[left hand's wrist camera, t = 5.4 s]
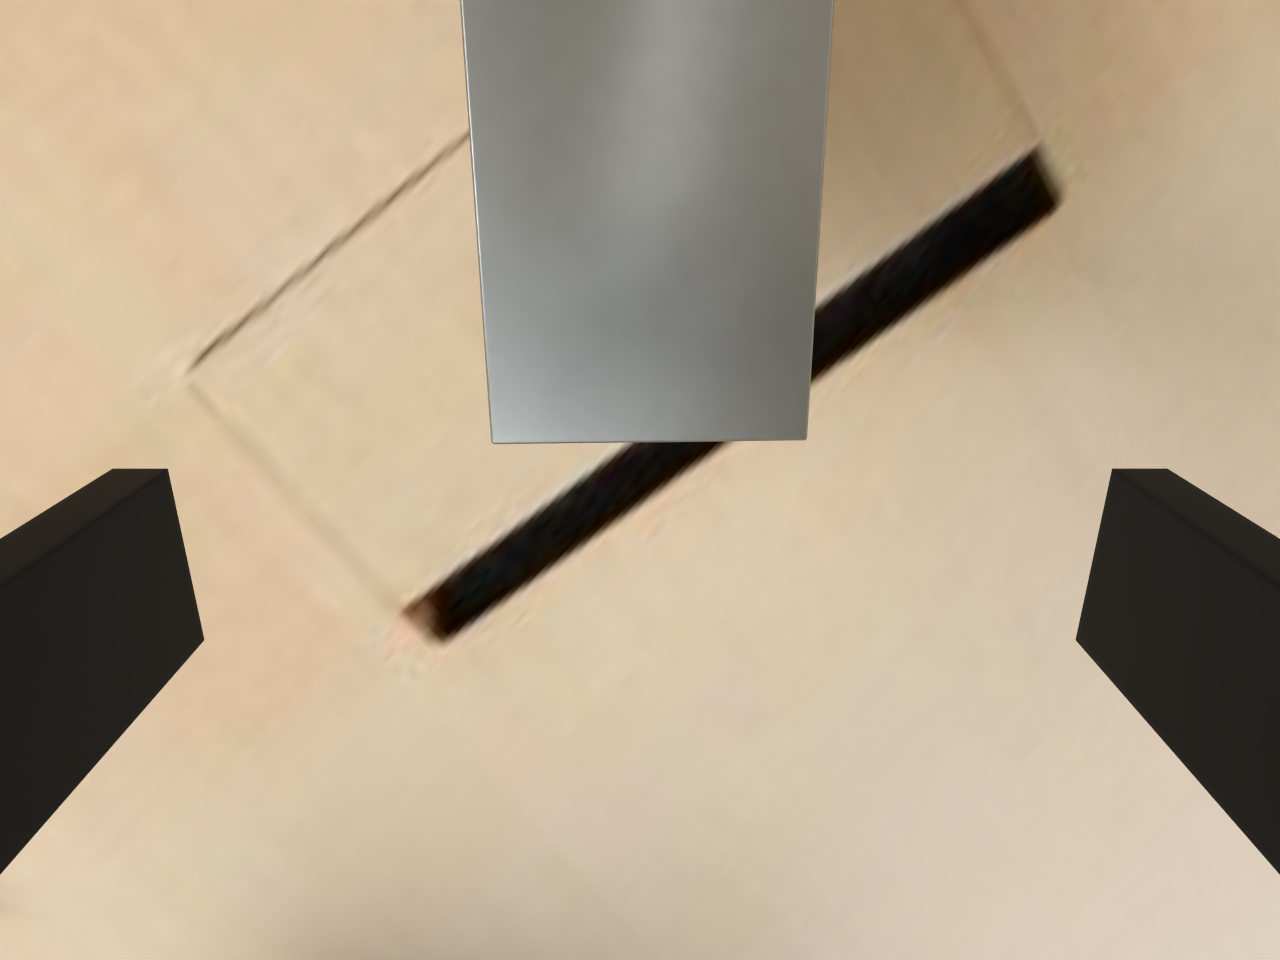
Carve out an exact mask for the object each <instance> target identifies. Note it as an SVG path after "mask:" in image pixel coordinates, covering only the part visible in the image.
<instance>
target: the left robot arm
mask: <svg viewBox="0 0 1280 960" xmlns="http://www.w3.org/2000/svg"><path fill="white" fill-rule="evenodd" d="M203 641H204V636H203V632H202V627H201V622H200V618H199V613H198V608H197V603H196V599H195V594H194V589H193V585H192V580H191V575H190V571H189V566H188V561H187V557H186V552H185V547H184V543H183V538H182V533H181V529H180V524H179V519H178V515H177V510H176V505H175V500H174V496H173V491H172V486H171V482H170V477H169V472H168V469H111V470H110V471H108V472H107V473H105V474H103V475H102V476H100V477H99V478H97V479H95V480H94V481H92V482H91V483H89V484H87V485H86V486H84V487H83V488H81V489H79V490H78V491H76V492H75V493H73V494H71V495H70V496H68V497H67V498H65V499H63V500H62V501H60V502H59V503H57V504H55V505H54V506H52V507H51V508H49V509H47V510H46V511H44V512H43V513H41V514H39V515H38V516H36V517H35V518H33V519H31V520H30V521H28V522H27V523H25V524H23V525H22V526H20V527H19V528H17V529H15V530H14V531H12V532H11V533H9V534H7V535H6V536H4V537H3V538H1V539H0V874H1V873H2V872H3V871H4V869H5V868H6V867H7V866H8V865H9V864H10V863H11V861H12V860H13V859H14V858H15V857H16V856H17V855H18V853H19V852H20V851H21V850H22V849H23V848H24V847H25V845H26V844H27V843H28V842H29V841H30V840H31V838H32V837H33V836H34V835H35V834H36V833H37V832H38V830H39V829H40V828H41V827H42V826H43V825H44V824H45V822H46V821H47V820H48V819H49V818H50V817H51V815H52V814H53V813H54V812H55V811H56V810H57V809H58V807H59V806H60V805H61V804H62V803H63V802H64V801H65V799H66V798H67V797H68V796H69V795H70V794H71V793H72V791H73V790H74V789H75V788H76V787H77V786H78V784H79V783H80V782H81V781H82V780H83V779H84V778H85V776H86V775H87V774H88V773H89V772H90V771H91V770H92V768H93V767H94V766H95V765H96V764H97V763H98V762H99V760H100V759H101V758H102V757H103V756H104V755H105V753H106V752H107V751H108V750H109V749H110V748H111V747H112V745H113V744H114V743H115V742H116V741H117V740H118V739H119V737H120V736H121V735H122V734H123V733H124V732H125V730H126V729H127V728H128V727H129V726H130V725H131V724H132V722H133V721H134V720H135V719H136V718H137V717H138V716H139V714H140V713H141V712H142V711H143V710H144V709H145V708H146V706H147V705H148V704H149V703H150V702H151V701H152V699H153V698H154V697H155V696H156V695H157V694H158V693H159V691H160V690H161V689H162V688H163V687H164V686H165V685H166V683H167V682H168V681H169V680H170V679H171V678H172V676H173V675H174V674H175V673H176V672H177V671H178V670H179V668H180V667H181V666H182V665H183V664H184V663H185V662H186V660H187V659H188V658H189V657H190V656H191V655H192V654H193V652H194V651H195V650H196V649H197V648H198V647H199V645H200V644H201V643H202V642H203ZM1076 641H1077V642H1078V643H1079V644H1080V645H1081V647H1082V648H1083V649H1084V650H1085V651H1086V652H1087V654H1088V655H1089V656H1090V657H1091V658H1092V659H1093V660H1094V662H1095V663H1096V664H1097V665H1098V666H1099V667H1100V668H1101V670H1102V671H1103V672H1104V673H1105V674H1106V675H1107V676H1108V678H1109V679H1110V680H1111V681H1112V682H1113V683H1114V685H1115V686H1116V687H1117V688H1118V689H1119V690H1120V691H1121V693H1122V694H1123V695H1124V696H1125V697H1126V698H1127V699H1128V701H1129V702H1130V703H1131V704H1132V705H1133V706H1134V708H1135V709H1136V710H1137V711H1138V712H1139V713H1140V714H1141V716H1142V717H1143V718H1144V719H1145V720H1146V721H1147V722H1148V724H1149V725H1150V726H1151V727H1152V728H1153V729H1154V730H1155V732H1156V733H1157V734H1158V735H1159V736H1160V737H1161V739H1162V740H1163V741H1164V742H1165V743H1166V744H1167V745H1168V747H1169V748H1170V749H1171V750H1172V751H1173V752H1174V753H1175V755H1176V756H1177V757H1178V758H1179V759H1180V760H1181V762H1182V763H1183V764H1184V765H1185V766H1186V767H1187V768H1188V770H1189V771H1190V772H1191V773H1192V774H1193V775H1194V776H1195V778H1196V779H1197V780H1198V781H1199V782H1200V783H1201V784H1202V786H1203V787H1204V788H1205V789H1206V790H1207V791H1208V793H1209V794H1210V795H1211V796H1212V797H1213V798H1214V799H1215V801H1216V802H1217V803H1218V804H1219V805H1220V806H1221V807H1222V809H1223V810H1224V811H1225V812H1226V813H1227V814H1228V815H1229V817H1230V818H1231V819H1232V820H1233V821H1234V822H1235V824H1236V825H1237V826H1238V827H1239V828H1240V829H1241V830H1242V832H1243V833H1244V834H1245V835H1246V836H1247V837H1248V838H1249V840H1250V841H1251V842H1252V843H1253V844H1254V845H1255V847H1256V848H1257V849H1258V850H1259V851H1260V852H1261V853H1262V855H1263V856H1264V857H1265V858H1266V859H1267V860H1268V861H1269V863H1270V864H1271V865H1272V866H1273V867H1274V868H1275V869H1276V871H1277V872H1278V873H1279V874H1280V539H1279V538H1277V537H1276V536H1274V535H1273V534H1271V533H1269V532H1268V531H1266V530H1265V529H1263V528H1261V527H1260V526H1258V525H1257V524H1255V523H1253V522H1252V521H1250V520H1249V519H1247V518H1245V517H1244V516H1242V515H1241V514H1239V513H1237V512H1236V511H1234V510H1233V509H1231V508H1229V507H1228V506H1226V505H1225V504H1223V503H1221V502H1220V501H1218V500H1217V499H1215V498H1213V497H1212V496H1210V495H1209V494H1207V493H1205V492H1204V491H1202V490H1201V489H1199V488H1197V487H1196V486H1194V485H1193V484H1191V483H1189V482H1188V481H1186V480H1185V479H1183V478H1181V477H1180V476H1178V475H1177V474H1175V473H1173V472H1172V471H1170V470H1169V469H1112V472H1111V477H1110V482H1109V486H1108V491H1107V496H1106V500H1105V505H1104V510H1103V515H1102V519H1101V524H1100V529H1099V533H1098V538H1097V543H1096V547H1095V552H1094V557H1093V561H1092V566H1091V571H1090V575H1089V580H1088V585H1087V589H1086V594H1085V599H1084V603H1083V608H1082V613H1081V618H1080V622H1079V627H1078V632H1077V636H1076Z"/></svg>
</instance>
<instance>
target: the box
mask: <svg viewBox="0 0 1280 960" xmlns="http://www.w3.org/2000/svg"><path fill="white" fill-rule="evenodd" d="M833 6H834V0H460V8H461V22H462V36H463V50H464V64H465V78H466V92H467V106H468V120H469V134H470V148H471V162H472V176H473V190H474V204H475V218H476V232H477V246H478V260H479V275H480V289H481V303H482V317H483V331H484V345H485V359H486V373H487V387H488V401H489V415H490V429H491V441H492V443H493V444H532V443H615V442H699V441H782V440H806V438H807V429H808V413H809V396H810V380H811V364H812V348H813V331H814V315H815V299H816V283H817V266H818V250H819V234H820V218H821V201H822V185H823V169H824V153H825V136H826V120H827V104H828V87H829V71H830V55H831V39H832V22H833Z"/></svg>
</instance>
